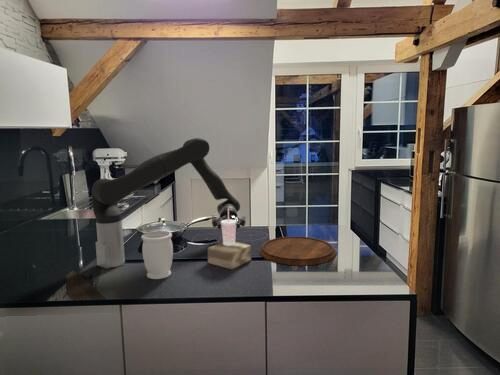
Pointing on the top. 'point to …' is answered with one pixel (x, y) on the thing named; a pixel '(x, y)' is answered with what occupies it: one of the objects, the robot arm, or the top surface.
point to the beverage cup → (228, 231)
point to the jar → (157, 253)
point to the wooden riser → (229, 255)
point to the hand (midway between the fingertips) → (228, 226)
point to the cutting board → (297, 251)
